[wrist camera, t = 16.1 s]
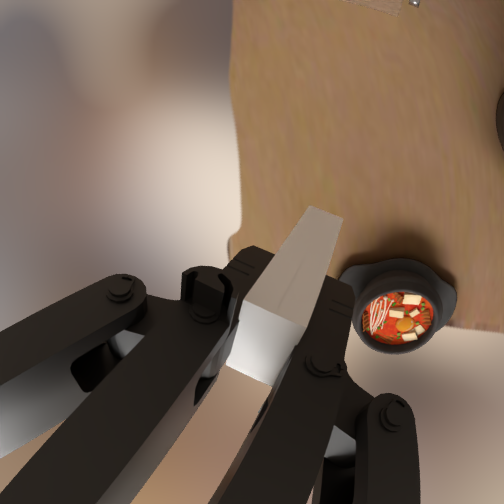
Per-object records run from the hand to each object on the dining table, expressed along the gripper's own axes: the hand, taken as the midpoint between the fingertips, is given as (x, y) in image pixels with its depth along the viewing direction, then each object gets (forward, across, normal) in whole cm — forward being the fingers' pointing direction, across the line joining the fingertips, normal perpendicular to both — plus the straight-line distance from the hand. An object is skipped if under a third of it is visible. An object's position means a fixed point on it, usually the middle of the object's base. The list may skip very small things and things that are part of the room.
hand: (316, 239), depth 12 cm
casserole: (+35, +18, -22) cm, 45 cm away
